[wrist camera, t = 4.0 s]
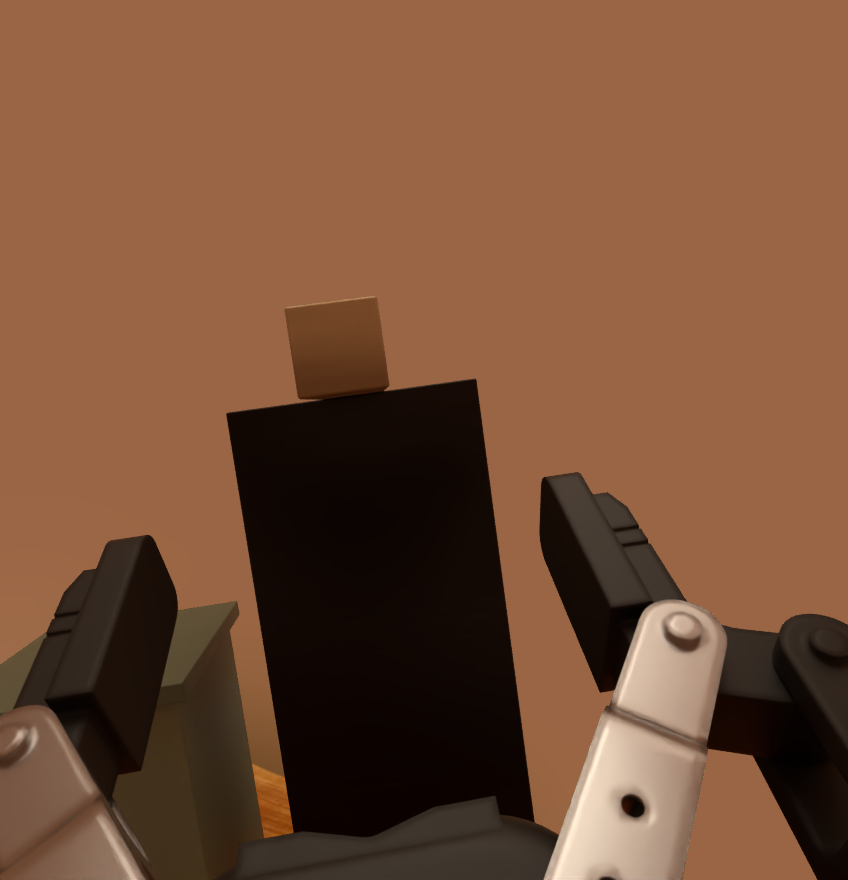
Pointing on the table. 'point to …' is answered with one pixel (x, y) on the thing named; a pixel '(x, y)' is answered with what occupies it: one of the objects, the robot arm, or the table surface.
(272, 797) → the table surface
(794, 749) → the robot arm
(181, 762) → the tall lidded box
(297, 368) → the birch bar
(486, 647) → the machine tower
